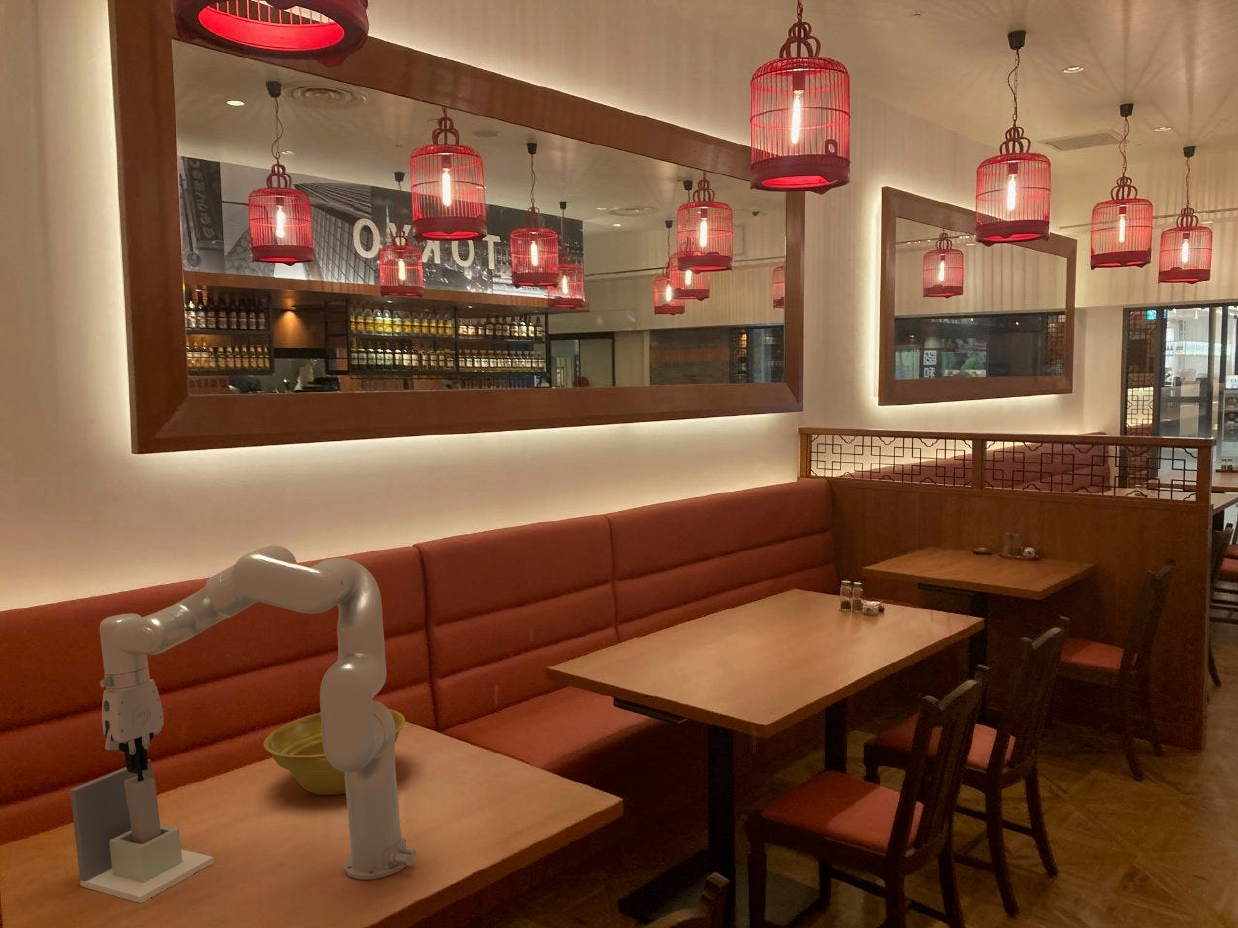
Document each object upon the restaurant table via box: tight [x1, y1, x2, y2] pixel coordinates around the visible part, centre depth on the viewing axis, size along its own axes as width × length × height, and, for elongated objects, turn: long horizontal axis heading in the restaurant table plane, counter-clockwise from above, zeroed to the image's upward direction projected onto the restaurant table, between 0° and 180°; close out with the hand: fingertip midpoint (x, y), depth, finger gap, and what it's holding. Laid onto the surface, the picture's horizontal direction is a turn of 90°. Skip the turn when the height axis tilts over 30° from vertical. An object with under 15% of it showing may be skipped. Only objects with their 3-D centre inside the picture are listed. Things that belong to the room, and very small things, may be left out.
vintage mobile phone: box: [124, 739, 161, 844], centre depth 182 cm, size 4×5×25 cm
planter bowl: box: [263, 708, 406, 796], centre depth 222 cm, size 32×32×13 cm
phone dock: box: [69, 758, 215, 904], centre depth 182 cm, size 18×16×19 cm
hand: (138, 770), depth 182 cm, fingers closed on vintage mobile phone, 1 cm apart
